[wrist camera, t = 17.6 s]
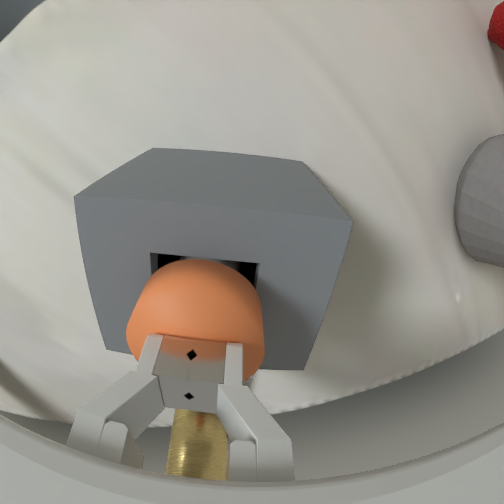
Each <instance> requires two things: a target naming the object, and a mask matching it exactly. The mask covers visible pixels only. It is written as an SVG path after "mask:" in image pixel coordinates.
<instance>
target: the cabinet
mask: <svg viewBox="0 0 504 504" xmlns="http://www.w3.org/2000/svg"><path fill="white" fill-rule="evenodd" d="M74 203H75V211H76V219H77V226H78V233H79V239H80V245H81V251H82V257H83V262H84V267H85V272H86V276H87V281H88V285H89V290H90V294H91V298H92V302H93V306H94V310H95V313H96V317H97V320H98V324H99V327H100V331H101V334H102V337H103V340H104V344H105V347H106V349H107V350H111V351H116V352H121V353H127V354H132V352H131V351H130V349H129V346H128V343H127V338H126V329H127V324H128V322H129V319H130V317H131V315H132V313H133V310H134V308H135V306H136V304H137V301H138V299H139V297H140V295H141V293H142V291H143V288H144V286H145V284H146V282H147V281H148V279H149V278H150V276H151V275H152V274H153V273H154V272H156V271H157V270H158V269H160V268H161V267H163V266H165V265H167V264H169V263H172V262H175V261H179V260H180V258H181V256H190V257H200V258H210V259H221V260H231V261H240V263H239V273H240V274H241V275H243V276H244V277H245V278H246V279H247V280H248V281H249V282H250V283H251V284H252V285H253V287H254V288H255V290H256V291H257V293H258V295H259V298H260V301H261V305H262V317H263V332H264V347H265V354H264V359H263V362H262V364H261V366H260V367H259V369H268V370H304V367H305V365H306V362H307V360H308V357H309V355H310V352H311V350H312V347H313V344H314V342H315V339H316V337H317V334H318V331H319V328H320V326H321V323H322V320H323V317H324V314H325V312H326V309H327V306H328V303H329V300H330V297H331V294H332V291H333V288H334V285H335V282H336V279H337V276H338V272H339V269H340V266H341V263H342V260H343V256H344V253H345V250H346V246H347V243H348V239H349V236H350V232H351V228H352V225H353V220H352V219H351V218H350V217H349V215H348V214H347V213H346V212H345V210H344V209H343V208H342V207H341V206H340V204H339V203H338V202H337V201H336V200H335V198H334V197H333V196H332V195H331V194H330V192H329V191H328V190H327V189H326V188H325V187H324V185H323V184H322V183H321V182H320V181H319V180H318V178H317V177H316V176H315V175H314V174H313V173H312V172H311V171H310V169H309V168H308V167H307V166H306V165H305V164H304V163H303V162H301V161H294V160H288V159H280V158H273V157H265V156H256V155H247V154H238V153H227V152H215V151H202V150H186V149H163V148H152V149H150V150H148V151H146V152H145V153H143V154H141V155H139V156H137V157H136V158H134V159H132V160H130V161H129V162H127V163H125V164H124V165H122V166H120V167H119V168H117V169H115V170H114V171H112V172H110V173H109V174H107V175H106V176H104V177H102V178H101V179H99V180H98V181H96V182H95V183H93V184H92V185H90V186H89V187H87V188H86V189H84V190H83V191H81V192H80V193H78V194H77V195H75V196H74ZM132 355H133V354H132Z"/></svg>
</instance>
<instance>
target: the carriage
mask: <svg viewBox="0 0 504 504" xmlns="http://www.w3.org/2000/svg"><path fill="white" fill-rule="evenodd" d="M252 378H253V375H252V376H251V377H250V378H249V379H252ZM227 460H228V434H227V432H226V430H225V429H224V427H223V425H222V423H221V422H220V420H219V418H218V417H217V414H215V413H207V412H199V411H192V410H184V409H175V414H174V420H173V426H172V433H171V439H170V446H169V453H168V459H167V467H166V474H171V475H177V476H184V477H191V478H200V479H210V480H223V481H225V479H226V465H227Z"/></svg>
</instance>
